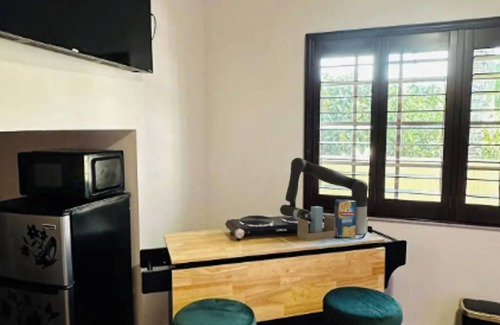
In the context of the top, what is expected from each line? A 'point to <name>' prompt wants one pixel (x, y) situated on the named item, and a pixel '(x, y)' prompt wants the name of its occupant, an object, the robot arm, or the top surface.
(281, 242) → the top surface
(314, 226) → the slate box
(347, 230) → the blue food box
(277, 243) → the top surface
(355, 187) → the robot arm
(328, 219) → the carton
